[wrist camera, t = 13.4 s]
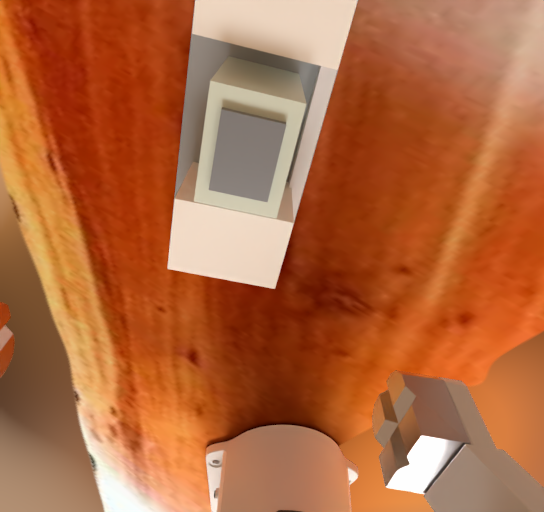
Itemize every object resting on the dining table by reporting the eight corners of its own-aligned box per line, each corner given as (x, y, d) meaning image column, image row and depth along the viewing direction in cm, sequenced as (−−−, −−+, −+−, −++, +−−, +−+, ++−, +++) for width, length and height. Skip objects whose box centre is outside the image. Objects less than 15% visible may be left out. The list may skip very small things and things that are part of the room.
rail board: (282, 252, 34) (283, 311, 28) (174, 231, 33) (149, 287, 27) (376, -79, 23) (413, -105, 16) (212, -127, 22) (186, -175, 15)
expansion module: (276, 164, 29) (276, 222, 22) (214, 150, 28) (192, 204, 21) (299, 73, 25) (307, 106, 18) (228, 55, 25) (208, 82, 18)
